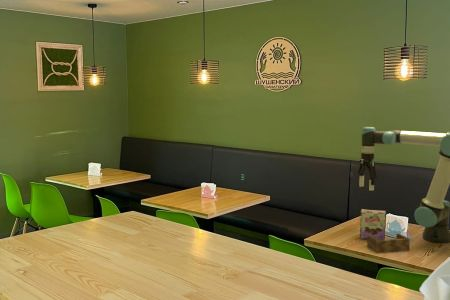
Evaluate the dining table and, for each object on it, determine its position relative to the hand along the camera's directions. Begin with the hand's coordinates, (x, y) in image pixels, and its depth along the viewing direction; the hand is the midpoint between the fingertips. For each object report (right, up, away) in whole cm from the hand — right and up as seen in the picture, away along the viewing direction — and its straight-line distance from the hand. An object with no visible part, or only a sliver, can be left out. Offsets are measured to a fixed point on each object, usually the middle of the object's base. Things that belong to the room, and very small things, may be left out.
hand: (366, 188), depth 277 cm
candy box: (-1, -28, -13) cm, 31 cm away
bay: (+2, -30, -29) cm, 41 cm away
